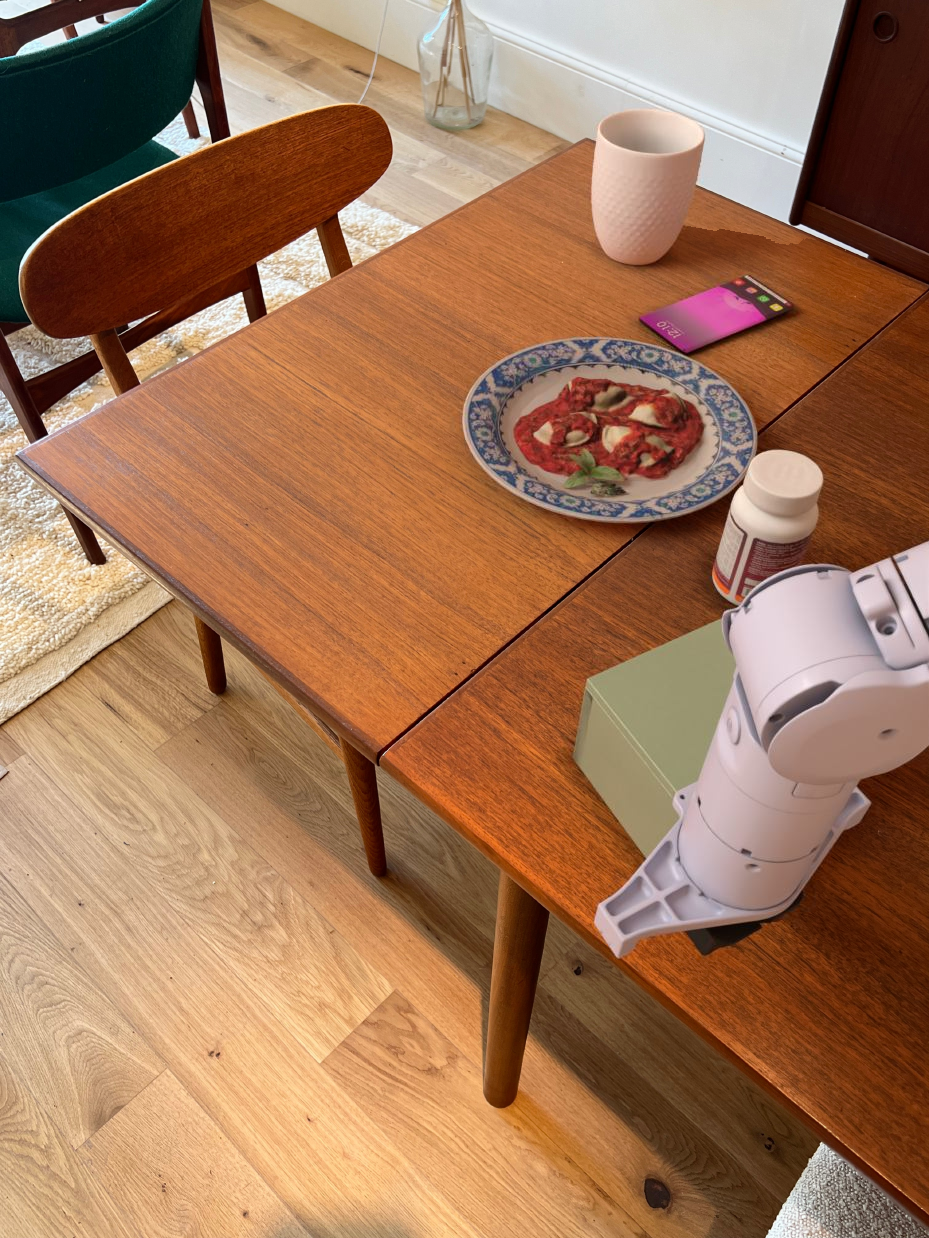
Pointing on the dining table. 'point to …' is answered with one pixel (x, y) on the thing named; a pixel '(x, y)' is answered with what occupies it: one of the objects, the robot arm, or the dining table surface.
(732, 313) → the smartphone
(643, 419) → the ceramic plate
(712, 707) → the cupboard
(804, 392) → the dining table surface
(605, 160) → the mug
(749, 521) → the pill bottle
